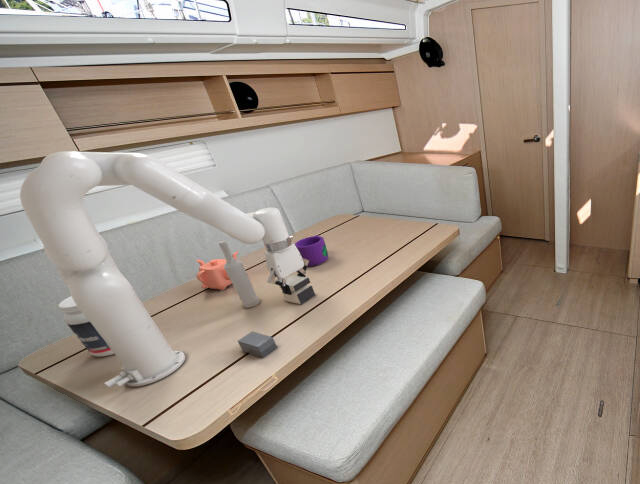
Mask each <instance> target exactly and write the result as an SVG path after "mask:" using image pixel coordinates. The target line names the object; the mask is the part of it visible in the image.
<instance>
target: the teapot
mask: <svg viewBox="0 0 640 484" xmlns="http://www.w3.org/2000/svg"><path fill="white" fill-rule="evenodd" d="M239 252H240V251H238V250H236V251H235V252H233V254H232V256H233V258H235V259H236V260H238V258H237V257H238V253H239ZM195 261H196V262H197V263H198V264H199V267H198V273H197V274H196V279H197V280H198V281H199V282H201V288H203V289H207V288H209V289H214V290H215V289H216V290H219V291H223V290H225V289H227V287H228V286H231V285H233V284H232V282H231V280H230V278H229V276H228V274H227V272H226V271H225V269H224V265H225V264H226V261H227V260H226V258H215V259H210V260H209V261H208V262H207V263H205V261H204V260H202V259H195Z"/></svg>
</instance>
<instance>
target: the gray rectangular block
mask: <svg viewBox="0 0 640 484" xmlns="http://www.w3.org/2000/svg"><path fill="white" fill-rule="evenodd" d="M237 343H238V345H239V346H240V348H241V350H242V352H244V353H248V354H250V355H254V356H256V357H260V358H266V357H267V356H268V355H270V354H271V353H272V352H273V351H275V350H276V349H278V345H277V343H276V341H275V339H274V337H273V336H271V335H266V334H262V333H260V332H256V331H250V332H249V333H247V334H245V335H244V336H243V337H241V338H240V339H237Z"/></svg>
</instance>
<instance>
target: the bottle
mask: <svg viewBox="0 0 640 484" xmlns="http://www.w3.org/2000/svg"><path fill="white" fill-rule="evenodd" d="M217 244H218V245H219V248H220V249H221V251H222V253H223V255H224V257H225V258H224V259H226V260H227V261H226V264H225V265H224V269H225V271H226V272H227V274H228V276H229V278H230V280H231V282H232V284H231V285H232V286H233V288H234V290H235V291H236V293H237V295H238V297H239V299H240V301H241V302H240V303H241V305H242V306H243V308H245V309H249V308H253V307H255V306H257V305H258V304H260V302H261V301H260V298H259V295H257V293H256V291H255V289H254V287H253V284H252V282H251V280H250V278H249V275H248V273H247V270H246V268H245V266H244V264H243V261H242V260H239V259H237V260H236V259H235V258H233V256H232V255H233V254H232V252H231V249H230V247H229V245H228V243H227V241H226V240H221V241H218V242H217Z"/></svg>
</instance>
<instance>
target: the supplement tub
mask: <svg viewBox="0 0 640 484" xmlns="http://www.w3.org/2000/svg"><path fill="white" fill-rule="evenodd" d="M58 308H59V310H60V312H61V313H63V318H62V319H63V321H64V323H65V324H66V325H67V326H68V327H69V328H70V330H71V331H72V332H73V334H74V335H75V336H76V338H78V340H79V341H80V342H81V344H82V345H83V346H84V348H85V349H86V350H87V351H88V353H89V354H90V355H92V356H94V357H108V356H113V355H115V354H114V352H113V351H112V350H111V348H110V347H109V346H108V344H107V343H106V342H105V340H104V339H103V338H102V337H101V336H100V334H99V333H98V332H97V330H96V329H95V328H94V326H93V325H92V324H91V322H90V321H89V320H88V319H87V318H86V316H85V315H84V314H83V313H82V312H81V311H80V309H79V308H78V307H77V305H76V304H75V302H74V300H73V298H72V296H71V295H70V296H68V297H66V298H64V299H63V300H62V301H61V302H59V303H58Z"/></svg>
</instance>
